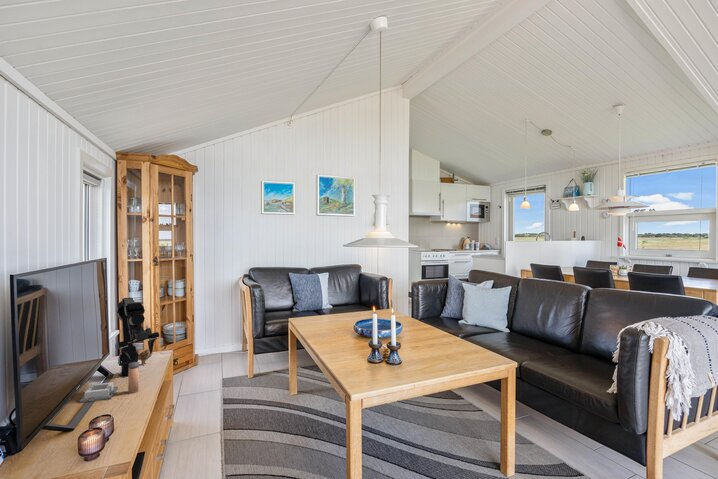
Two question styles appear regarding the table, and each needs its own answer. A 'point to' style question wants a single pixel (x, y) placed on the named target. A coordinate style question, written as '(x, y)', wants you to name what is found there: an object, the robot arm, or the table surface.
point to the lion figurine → (144, 356)
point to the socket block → (100, 392)
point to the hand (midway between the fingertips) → (141, 356)
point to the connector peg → (133, 377)
